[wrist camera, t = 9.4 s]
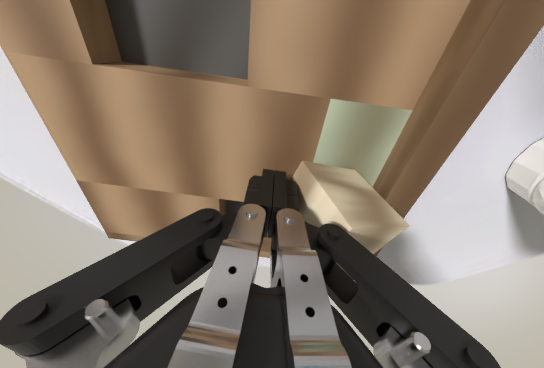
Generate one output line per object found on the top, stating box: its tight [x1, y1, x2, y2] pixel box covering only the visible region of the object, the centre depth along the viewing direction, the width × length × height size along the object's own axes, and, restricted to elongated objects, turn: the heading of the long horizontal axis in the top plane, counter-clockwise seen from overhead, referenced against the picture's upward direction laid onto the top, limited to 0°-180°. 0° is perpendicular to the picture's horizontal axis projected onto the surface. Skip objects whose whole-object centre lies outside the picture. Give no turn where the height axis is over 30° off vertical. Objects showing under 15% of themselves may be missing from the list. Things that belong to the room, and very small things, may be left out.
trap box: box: [0, 0, 544, 280], centre depth 15 cm, size 26×24×5 cm
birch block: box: [291, 161, 410, 254], centre depth 13 cm, size 5×5×5 cm
